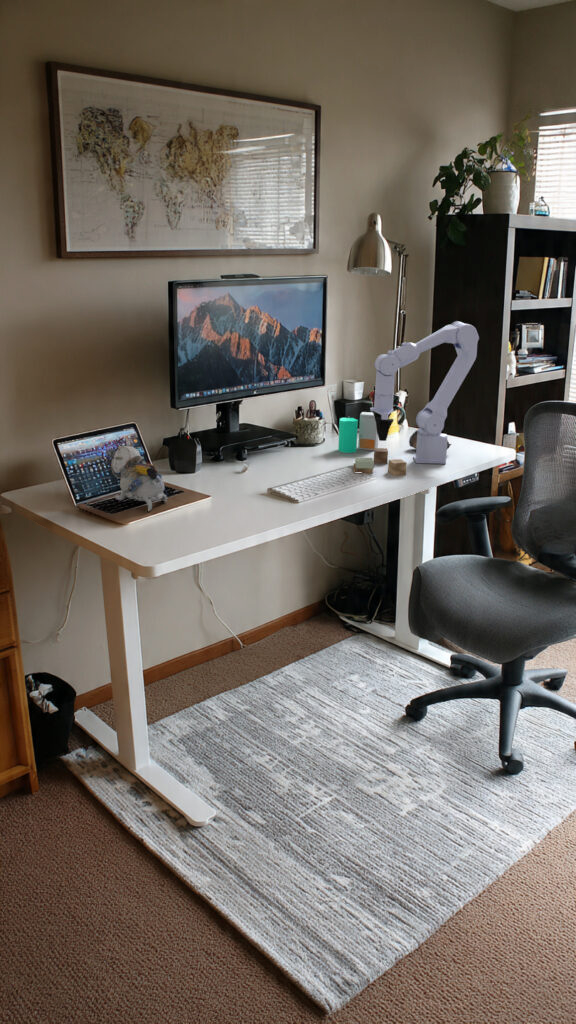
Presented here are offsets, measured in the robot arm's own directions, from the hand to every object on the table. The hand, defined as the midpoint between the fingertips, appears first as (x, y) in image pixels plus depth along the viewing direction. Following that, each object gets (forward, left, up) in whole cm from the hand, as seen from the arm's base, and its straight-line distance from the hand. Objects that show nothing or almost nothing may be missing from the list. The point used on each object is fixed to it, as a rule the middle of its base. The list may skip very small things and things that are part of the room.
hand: (381, 437), depth 261 cm
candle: (+10, -13, -8) cm, 18 cm away
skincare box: (+3, -16, -8) cm, 18 cm away
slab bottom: (+6, +11, -8) cm, 15 cm away
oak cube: (-4, +13, -8) cm, 16 cm away
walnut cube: (0, 0, -8) cm, 8 cm away
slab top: (+6, +11, -6) cm, 14 cm away
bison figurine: (-17, -14, -8) cm, 24 cm away
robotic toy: (+67, +48, -8) cm, 83 cm away
